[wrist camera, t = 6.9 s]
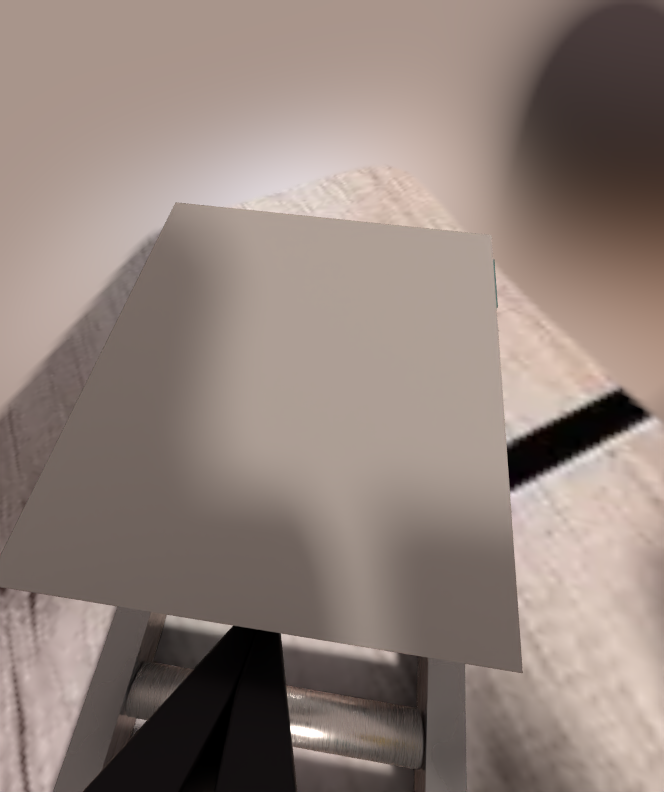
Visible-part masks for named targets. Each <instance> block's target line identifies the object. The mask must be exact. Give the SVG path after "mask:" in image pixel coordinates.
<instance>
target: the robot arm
mask: <svg viewBox="0 0 664 792" xmlns="http://www.w3.org/2000/svg"><path fill="white" fill-rule="evenodd" d="M82 792H297V785H296V776H295V766H294V756H293V747H292V737H291V728H290V718H289V708H288V699H287V689H286V680H285V670H284V660H283V651H282V641H281V633H276V632H270V631H264V630H258V629H252V628H246V627H240V626H234V625H233V627H232V628H231V629H230V630H229V631H228V632H227V633H226V634H225V635H224V636H223V638H222V639H221V640H220V641H219V642H218V643H217V644H216V645H215V646H214V647H213V649H212V650H211V651H210V652H209V653H208V654H207V655H206V656H205V657H204V658H203V660H202V661H201V662H200V663H199V664H198V665H197V666H196V667H195V668H194V669H193V671H192V672H191V673H190V674H189V675H188V676H187V677H186V678H185V679H184V680H183V682H182V683H181V684H180V685H179V686H178V687H177V688H176V689H175V690H174V691H173V693H172V694H171V695H170V696H169V697H168V698H167V699H166V700H165V701H164V702H163V703H162V705H161V706H160V707H159V708H158V709H157V710H156V711H155V712H154V713H153V714H152V716H151V717H150V718H149V719H148V720H147V721H146V722H145V723H144V724H143V725H142V727H141V728H140V729H139V730H138V731H137V732H136V733H135V734H134V735H133V736H132V738H131V739H130V740H129V741H128V742H127V743H126V744H125V745H124V746H123V747H122V749H121V750H120V751H119V752H118V753H117V754H116V755H115V756H114V757H113V758H112V760H111V761H110V762H109V763H108V764H107V765H106V766H105V767H104V768H103V769H102V771H101V772H100V773H99V774H98V775H97V776H96V777H95V778H94V779H93V780H92V782H91V783H90V784H89V785H88V786H87V787H86V788H85V789H84V790H83V791H82Z"/></svg>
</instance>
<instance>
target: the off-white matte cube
mask: <svg viewBox="0 0 664 792" xmlns="http://www.w3.org/2000/svg"><path fill="white" fill-rule="evenodd" d="M0 587H3V588H9V589H16V590H22V591H28V592H34V593H40V594H46V595H52V596H58V597H64V598H70V599H76V600H82V601H88V602H94V603H100V604H106V605H112V606H118V607H125V608H131V609H137V610H143V611H149V612H155V613H161V614H167V615H173V616H179V617H185V618H191V619H197V620H203V621H209V622H215V623H221V624H228V625H234V626H240V627H246V628H252V629H258V630H264V631H270V632H276V633H282V634H288V635H294V636H300V637H306V638H312V639H318V640H324V641H331V642H337V643H343V644H349V645H355V646H361V647H367V648H373V649H379V650H385V651H391V652H397V653H403V654H409V655H415V656H421V657H427V658H434V659H440V660H446V661H452V662H458V663H464V664H470V665H476V666H482V667H488V668H494V669H500V670H506V671H512V672H518V673H523V671H522V657H521V643H520V629H519V615H518V601H517V587H516V573H515V559H514V545H513V531H512V517H511V503H510V489H509V475H508V461H507V447H506V433H505V419H504V405H503V391H502V377H501V363H500V349H499V335H498V321H497V307H496V293H495V279H494V265H493V252H492V238H491V235H486V234H476V233H467V232H458V231H448V230H438V229H429V228H419V227H409V226H399V225H390V224H380V223H370V222H361V221H351V220H341V219H332V218H322V217H312V216H302V215H293V214H283V213H273V212H264V211H254V210H244V209H234V208H225V207H214V206H205V205H195V204H186V203H175V205H174V207H173V209H172V211H171V213H170V215H169V217H168V219H167V221H166V223H165V225H164V227H163V229H162V231H161V233H160V235H159V237H158V239H157V241H156V243H155V245H154V247H153V249H152V251H151V253H150V255H149V257H148V259H147V261H146V263H145V265H144V267H143V269H142V271H141V273H140V275H139V277H138V279H137V281H136V283H135V285H134V287H133V289H132V291H131V293H130V295H129V297H128V300H127V302H126V304H125V306H124V308H123V310H122V312H121V314H120V316H119V318H118V320H117V322H116V324H115V326H114V328H113V330H112V332H111V334H110V336H109V338H108V340H107V342H106V344H105V346H104V348H103V350H102V352H101V354H100V356H99V358H98V360H97V362H96V364H95V366H94V368H93V370H92V372H91V374H90V376H89V378H88V380H87V382H86V384H85V386H84V388H83V390H82V392H81V394H80V396H79V398H78V400H77V402H76V404H75V406H74V408H73V410H72V412H71V414H70V416H69V418H68V420H67V422H66V424H65V426H64V428H63V430H62V432H61V434H60V436H59V438H58V440H57V442H56V445H55V447H54V449H53V451H52V453H51V455H50V457H49V459H48V461H47V463H46V465H45V467H44V469H43V471H42V473H41V475H40V477H39V479H38V481H37V483H36V485H35V487H34V489H33V491H32V493H31V495H30V497H29V499H28V501H27V503H26V505H25V507H24V509H23V511H22V513H21V515H20V517H19V519H18V521H17V523H16V525H15V527H14V529H13V531H12V533H11V535H10V537H9V539H8V541H7V543H6V545H5V547H4V549H3V551H2V553H1V555H0Z"/></svg>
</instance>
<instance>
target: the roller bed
mask: <svg viewBox="0 0 664 792" xmlns="http://www.w3.org/2000/svg"><path fill="white" fill-rule="evenodd" d="M493 265H494V279H495V293H496V307H498V303H497V289H496V276H495V262H494V260H493ZM166 615H167V614H161V613H155V612H149V611H143V610H137V609H131V608H125V607H117V610H116V613H115V616H114V619H113V622H112V625H111V628H110V630H109V633H108V636H107V639H106V642H105V645H104V648H103V651H102V653H101V656H100V659H99V662H98V665H97V668H96V671H95V674H94V676H93V679H92V682H91V685H90V688H89V691H88V694H87V696H86V699H85V702H84V705H83V708H82V711H81V714H80V717H79V719H78V722H77V725H76V728H75V731H74V734H73V737H72V740H71V742H70V745H69V748H68V751H67V754H66V757H65V760H64V763H63V765H62V768H61V771H60V774H59V777H58V780H57V783H56V786H55V788H54V791H53V792H82V791H83V790H84V789H85V788H86V787H87V786H88V785H89V784H90V783H91V782H92V780H93V779H94V778H95V777H96V776H97V775H98V774H99V773H100V772H101V771H102V769H103V768H104V767H105V766H106V765H107V764H108V763H109V762H110V761H111V760H112V758H113V757H114V756H115V755H116V754H117V753H118V752H119V751H120V750H121V749H122V747H123V746H124V745H125V744H126V743H127V742H128V741H129V740H130V738H131V734H132V731H133V728H134V724H135V721H136V718H138V719H143V720H148V719H149V718H150V717H151V716H152V714H153V713H154V712H155V711H156V710H157V709H158V708H159V707H160V706H161V705H162V703H163V702H164V701H165V700H166V699H167V698H168V697H169V696H170V695H171V694H172V693H173V691H174V690H175V689H176V688H177V687H178V686H179V685H180V684H181V683H182V682H183V680H184V679H185V678H186V677H187V676H188V675H189V674H190V673H191V672H192V671H193V669H189V668H183V667H178V666H172V665H166V664H160V663H155V662H153V660H154V656H155V653H156V649H157V646H158V643H159V639H160V636H161V632H162V629H163V626H164V622H165V619H166ZM286 689H287V699H288V708H289V718H290V728H291V737H292V747H296V748H302V749H307V750H313V751H318V752H324V753H329V754H335V755H340V756H346V757H351V758H357V759H362V760H368V761H373V762H378V763H384V764H389V765H395V766H400V767H406V768H411V769H415V771H414V792H467V787H466V717H465V664H464V663H458V662H452V661H446V660H440V659H434V658H427V657H421V656H418V677H417V708H413V707H408V706H402V705H396V704H390V703H385V702H379V701H373V700H367V699H362V698H356V697H350V696H344V695H339V694H333V693H327V692H321V691H316V690H310V689H304V688H298V687H293V686H287V685H286Z"/></svg>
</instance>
